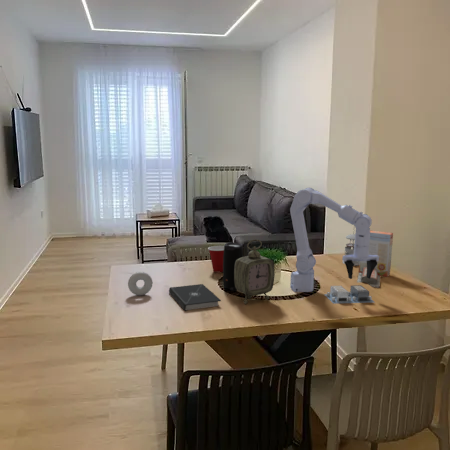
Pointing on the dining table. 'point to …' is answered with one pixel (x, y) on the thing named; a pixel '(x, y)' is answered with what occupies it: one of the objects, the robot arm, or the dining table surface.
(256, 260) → the tabletop clock
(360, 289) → the loose drive
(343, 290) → the seated drive
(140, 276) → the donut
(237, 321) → the dining table surface
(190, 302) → the book
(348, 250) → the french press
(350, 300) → the drive tray
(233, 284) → the portable speaker
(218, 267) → the plastic cup
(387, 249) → the cracker box
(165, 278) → the dining table surface
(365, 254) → the robot arm
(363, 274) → the packaged product
